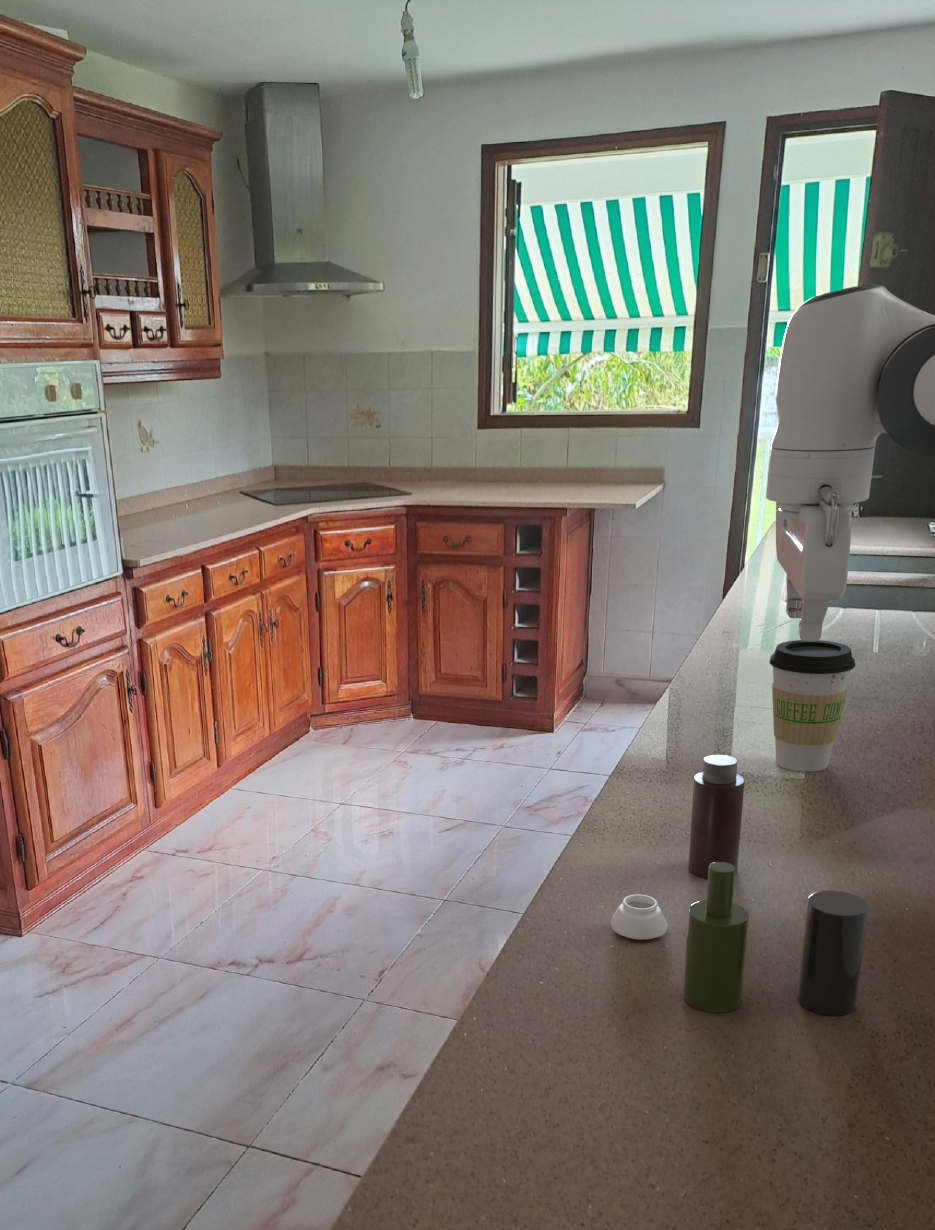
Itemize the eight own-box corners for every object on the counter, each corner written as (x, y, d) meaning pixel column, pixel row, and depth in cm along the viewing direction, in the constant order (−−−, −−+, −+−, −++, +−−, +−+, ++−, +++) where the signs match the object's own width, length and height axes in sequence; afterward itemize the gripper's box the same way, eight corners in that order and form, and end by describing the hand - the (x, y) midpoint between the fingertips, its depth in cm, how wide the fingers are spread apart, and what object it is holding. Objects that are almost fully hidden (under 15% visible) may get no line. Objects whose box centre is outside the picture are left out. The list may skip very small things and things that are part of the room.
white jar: (661, 946, 101) (670, 922, 105) (663, 917, 100) (672, 893, 104) (606, 938, 103) (617, 914, 107) (607, 909, 102) (618, 886, 106)
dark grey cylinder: (847, 987, 93) (859, 890, 90) (862, 1016, 89) (875, 916, 86) (792, 986, 94) (802, 889, 91) (804, 1015, 90) (815, 915, 86)
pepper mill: (732, 860, 117) (741, 751, 113) (741, 880, 113) (750, 768, 108) (685, 859, 118) (691, 751, 113) (691, 879, 113) (699, 768, 109)
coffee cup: (790, 781, 137) (802, 661, 131) (745, 756, 146) (754, 643, 140) (861, 770, 139) (875, 652, 133) (812, 746, 148) (823, 635, 142)
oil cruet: (735, 984, 95) (746, 855, 90) (746, 1014, 90) (758, 879, 86) (679, 982, 95) (687, 854, 91) (687, 1012, 91) (696, 879, 87)
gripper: (877, 493, 93) (856, 655, 98) (837, 468, 111) (821, 606, 116) (796, 494, 94) (779, 654, 99) (770, 469, 113) (757, 605, 118)
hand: (802, 627), depth 108 cm, fingers open, 8 cm apart
